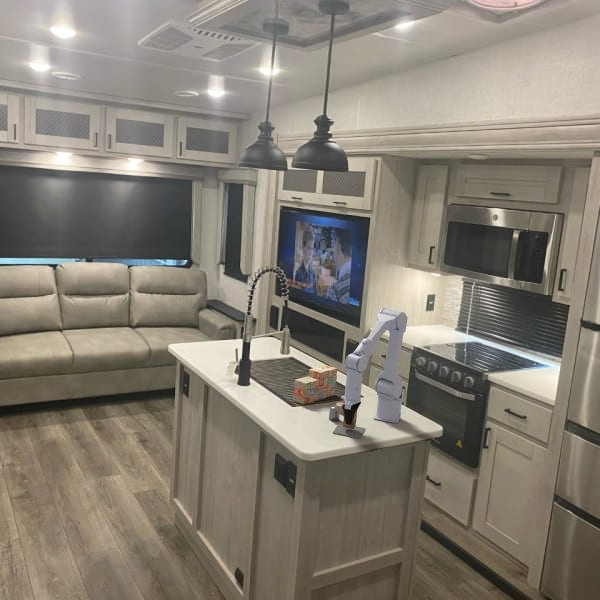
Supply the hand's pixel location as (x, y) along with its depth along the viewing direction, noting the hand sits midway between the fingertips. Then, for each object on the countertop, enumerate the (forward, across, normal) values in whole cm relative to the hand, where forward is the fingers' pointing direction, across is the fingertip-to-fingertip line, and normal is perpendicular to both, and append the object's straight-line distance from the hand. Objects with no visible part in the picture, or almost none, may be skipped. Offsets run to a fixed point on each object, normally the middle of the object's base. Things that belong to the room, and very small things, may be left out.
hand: (349, 422), depth 221 cm
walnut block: (+2, 0, 0) cm, 2 cm away
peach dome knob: (+4, -20, -8) cm, 21 cm away
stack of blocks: (+4, -30, -22) cm, 38 cm away
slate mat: (+4, 0, 0) cm, 4 cm away
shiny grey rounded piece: (+4, -9, -8) cm, 13 cm away
